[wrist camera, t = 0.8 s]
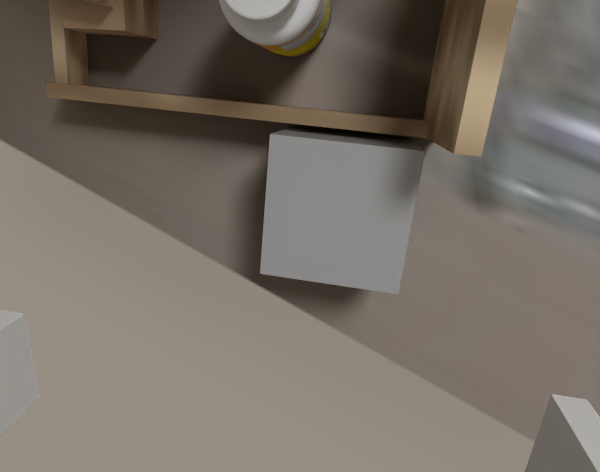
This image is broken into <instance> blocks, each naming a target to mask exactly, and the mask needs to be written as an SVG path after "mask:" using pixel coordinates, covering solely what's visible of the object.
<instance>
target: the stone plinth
mask: <svg viewBox="0 0 600 472" xmlns="http://www.w3.org/2000/svg"><path fill="white" fill-rule="evenodd" d="M424 155H425V151H424V150H423V149H422V148H420V147H419V146H418V145H417V144H415V143H414V142H413V141H410V140H401V139H392V138H383V137H373V136H364V135H355V134H346V133H337V132H328V131H319V130H310V129H300V128H291V127H289V128H286V129H283V130H280V131H277V132H274V133H271V134H270V140H269V154H268V168H267V182H266V196H265V210H264V224H263V238H262V252H261V266H260V274H265V275H272V276H278V277H285V278H292V279H298V280H305V281H312V282H319V283H325V284H332V285H339V286H345V287H352V288H359V289H365V290H372V291H379V292H385V293H392V294H398V293H399V288H400V283H401V277H402V272H403V267H404V261H405V256H406V251H407V245H408V240H409V235H410V229H411V224H412V219H413V214H414V208H415V203H416V198H417V192H418V187H419V182H420V176H421V171H422V166H423V160H424Z"/></svg>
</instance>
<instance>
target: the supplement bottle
mask: <svg viewBox="0 0 600 472" xmlns="http://www.w3.org/2000/svg"><path fill="white" fill-rule="evenodd" d="M219 3H220V6H221V9H222V12H223V14H224V16H225V17H226V19H227V21H228V22H229V24H230V25H231V26H232V27H233V28H234V30H235V31H237V32H238V33H239V34H240V35H241V36H243V37H244V38H246V39H247V40H249V41H251V42H253V43H255V44H257V45H259V46H261V47H263V48H265V49H267V50H269V51H271V52H273V53H275V54H278V55H281V56H285V57H296V56H300V55H304V54H306V53H308V52H310V51H311V50H313V49H314V48H315V47H316V46H317V45H318V44H319V43H320V42H321V41H322V39H323V38H324V36H325V35H326V33H327V30H328V28H329V25H330V20H331V1H330V0H219Z"/></svg>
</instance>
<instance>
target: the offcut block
mask: <svg viewBox="0 0 600 472" xmlns="http://www.w3.org/2000/svg"><path fill="white" fill-rule="evenodd" d="M84 1H88V2H92V3H96V4H100V5H104V6H108V7H113V8H114V5H115V0H84Z"/></svg>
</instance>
